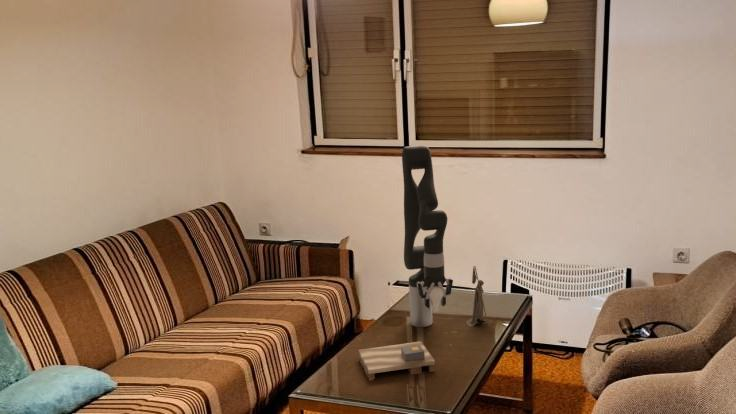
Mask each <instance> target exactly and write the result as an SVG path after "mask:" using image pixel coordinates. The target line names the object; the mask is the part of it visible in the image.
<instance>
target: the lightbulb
mask: <svg viewBox="0 0 736 414" xmlns="http://www.w3.org/2000/svg"><path fill="white" fill-rule="evenodd" d="M428 290H429V289H428ZM443 294H444V292H443V290H442V289H441V288H439V287H438V286H435V287H433V289H432V291H431V293H430V294H429V299H430V301H431V306H432V313H434V314H437V313H438V312H439V311H440V306H441V299H442V297H443Z"/></svg>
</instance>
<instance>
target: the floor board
mask: <svg viewBox="0 0 736 414" xmlns="http://www.w3.org/2000/svg"><path fill="white" fill-rule="evenodd" d="M416 345H420V346H421V347H422V349H423V350H424V355H425V359H423V360H416V361H409V362H405V360H404V359H403V357H402V355H401V347H408V346H416ZM358 358H359V359H358V360H359V363H360V364H361V366H362V369H363V368H364V369H363V370H364V373H365V375H366V376H367V378H369V379H368V381H369V380H370V381H373V380H372V379H375V380H376V377H375V374H378V373H379V374H380V373H386V372H391V371H399V370H405V369H407V371H408V373H409V375H411V374H412V375H418V374H422V373H423V371H422V367H425V368H426V369H427V371H429V372H436V361H435V359H434V357H433V356H432V354H431V353H430V352H429V351H428V349H427V348H426V346H425V345H424V344H423V342H422V341H420V340H419V341H414V342H413V341H412V342H406V343H399V344H393V345H392V344H391V345H384V346H378V347H370V348H368V347H367V348H362V349H358Z"/></svg>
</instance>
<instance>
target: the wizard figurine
mask: <svg viewBox="0 0 736 414" xmlns="http://www.w3.org/2000/svg"><path fill="white" fill-rule="evenodd" d="M471 277H472V278H471V279H472V280H471V283H472V284H473V285H475V284H476V282H477V285H476V286H475V288H474V289H475V290H474V298H473V306H472V307H473V309H472V317H471V318H470V319H468V320H467V321H466V325H467V326H468V327H474V326H475V325H476V324H477V325H478V324H479V322H478V320H479V319H480V321H481V322H483V321H484V322H487V323H488V322H489V321H488V316H487V311H486V308H485V303H484V298H483V294H484V289H483V286H484V284H485V282H484V281H483V280H482V279H479V276H478V272H477V268H476V265H473V268H472V276H471ZM484 316H485V319H484Z"/></svg>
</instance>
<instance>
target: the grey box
mask: <svg viewBox="0 0 736 414" xmlns="http://www.w3.org/2000/svg"><path fill="white" fill-rule="evenodd" d="M401 355H402V357H403V359H404V360H405V362H409V361H416V360H423V359H425V355H424V350H423V349H422V347H421V346H420V345H416V346H408V347H401Z"/></svg>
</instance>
